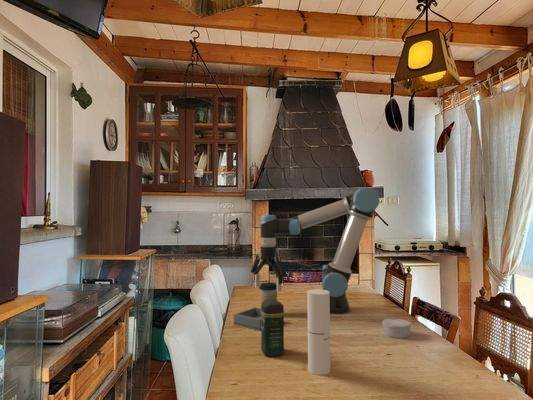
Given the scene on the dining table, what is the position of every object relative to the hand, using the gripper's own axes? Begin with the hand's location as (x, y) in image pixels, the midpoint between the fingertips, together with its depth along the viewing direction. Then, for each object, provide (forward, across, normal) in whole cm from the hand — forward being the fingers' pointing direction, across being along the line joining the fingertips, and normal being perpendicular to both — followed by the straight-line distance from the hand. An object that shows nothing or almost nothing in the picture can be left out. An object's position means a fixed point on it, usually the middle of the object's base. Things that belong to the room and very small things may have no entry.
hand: (267, 289), depth 181 cm
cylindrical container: (+12, +52, -40) cm, 66 cm away
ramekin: (+12, +60, +8) cm, 62 cm away
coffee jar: (+13, +30, -37) cm, 49 cm away
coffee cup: (+13, 0, 0) cm, 13 cm away
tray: (+12, +4, -14) cm, 19 cm away
